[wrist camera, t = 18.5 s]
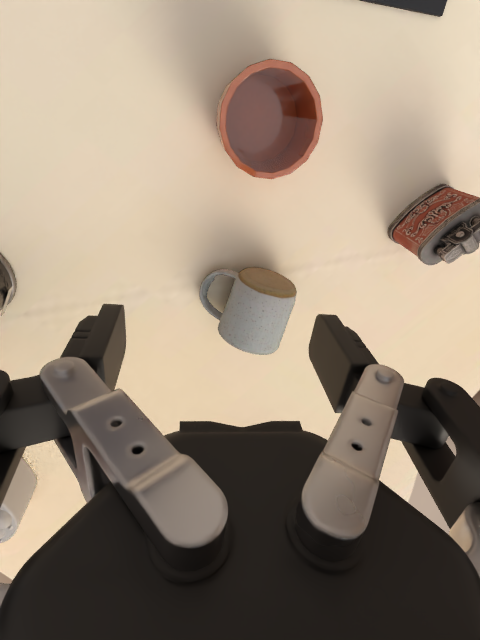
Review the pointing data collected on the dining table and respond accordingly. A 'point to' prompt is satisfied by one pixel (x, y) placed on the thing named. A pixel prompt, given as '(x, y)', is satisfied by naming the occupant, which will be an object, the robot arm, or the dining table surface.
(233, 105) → the pen cup
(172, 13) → the dining table surface
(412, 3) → the mat
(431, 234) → the lighter
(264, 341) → the ceramic mug
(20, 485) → the lumpy-topped squat cylinder
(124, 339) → the robot arm
